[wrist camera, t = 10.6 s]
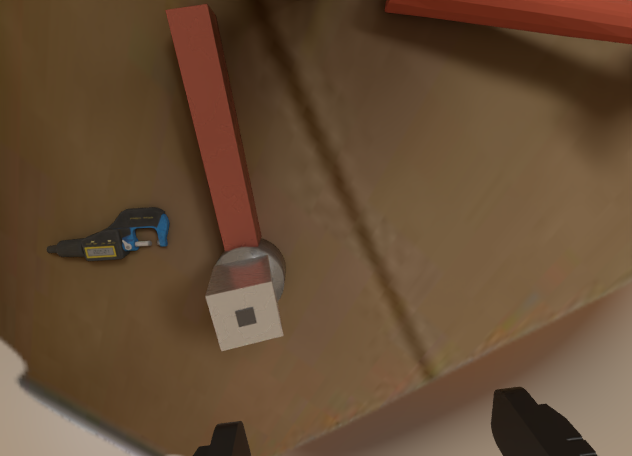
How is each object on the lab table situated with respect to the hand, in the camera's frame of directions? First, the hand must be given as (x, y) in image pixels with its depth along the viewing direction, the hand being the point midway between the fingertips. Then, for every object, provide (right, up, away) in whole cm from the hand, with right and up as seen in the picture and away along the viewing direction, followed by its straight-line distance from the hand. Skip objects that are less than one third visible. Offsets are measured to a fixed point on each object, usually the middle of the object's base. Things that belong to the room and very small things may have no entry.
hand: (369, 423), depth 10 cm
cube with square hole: (-8, +1, +20) cm, 22 cm away
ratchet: (-10, +11, +21) cm, 26 cm away
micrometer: (-22, +6, +23) cm, 32 cm away
